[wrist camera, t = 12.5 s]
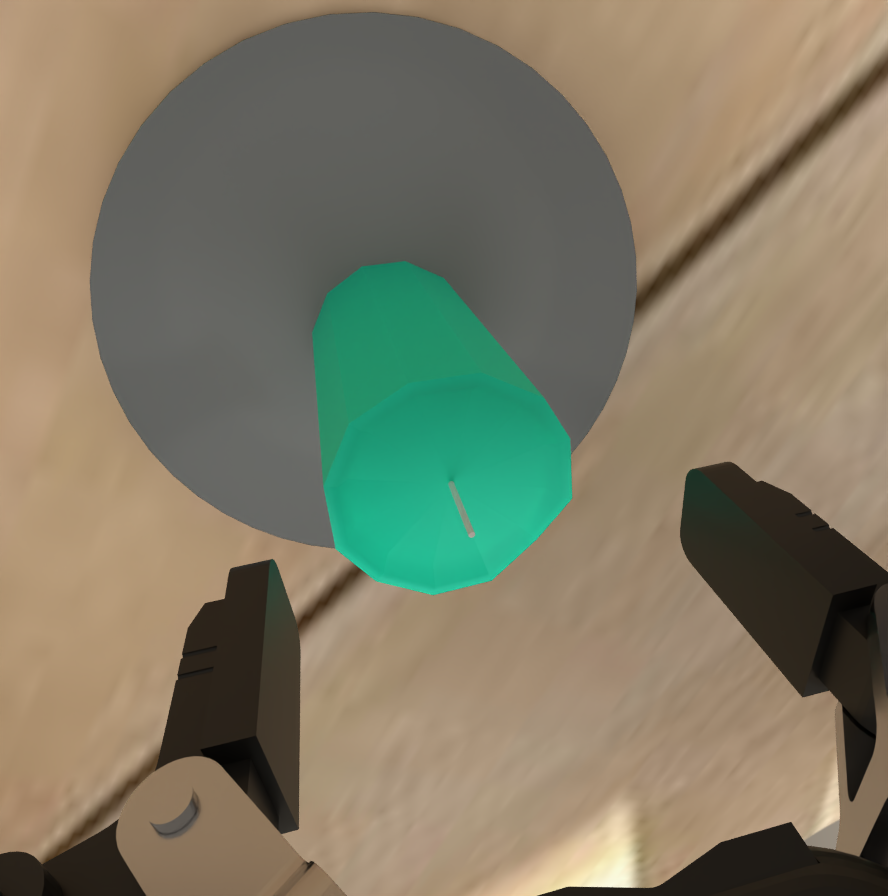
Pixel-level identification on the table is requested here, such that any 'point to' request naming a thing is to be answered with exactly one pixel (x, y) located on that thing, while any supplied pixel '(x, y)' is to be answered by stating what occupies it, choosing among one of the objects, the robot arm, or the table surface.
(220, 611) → the robot arm
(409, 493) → the candle
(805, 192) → the table surface
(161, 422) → the candle tray
